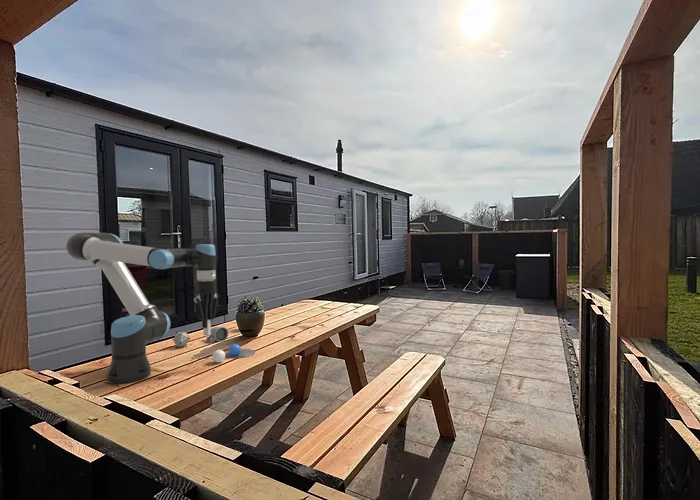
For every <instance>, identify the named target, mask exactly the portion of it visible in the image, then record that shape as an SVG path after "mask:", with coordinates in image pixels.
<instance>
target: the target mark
mask: <svg viewBox="0 0 700 500" xmlns="http://www.w3.org/2000/svg"><path fill="white" fill-rule="evenodd" d="M224 353H225V358H227V359H244V358H248V357H251V356H254V355H255V354H256V351H255V350H254V349H250V348H241V352H240V354H239V355H237V356H232V355H230V353H229V351H227V352H224Z"/></svg>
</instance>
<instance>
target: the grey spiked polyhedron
mask: <svg viewBox="0 0 700 500" xmlns="http://www.w3.org/2000/svg"><path fill="white" fill-rule="evenodd" d="M175 333H176V334H175V336H174V337H173V338H171V340H172V341H173V342H174V345H175V349H177V348H180V347H181V348H182V347H186V348H187V347H188V346H187V345H188V343H189V341H190V340H191V338H190V337H189V335H188V330H186V331H183V332H181V331H179V332H178V331H175Z"/></svg>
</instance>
